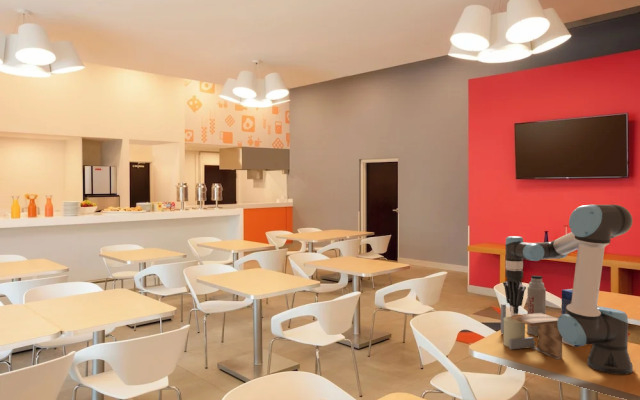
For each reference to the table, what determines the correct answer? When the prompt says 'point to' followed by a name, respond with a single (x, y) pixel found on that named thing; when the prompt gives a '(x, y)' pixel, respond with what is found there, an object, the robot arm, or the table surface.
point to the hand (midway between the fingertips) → (514, 319)
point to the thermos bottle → (536, 300)
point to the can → (513, 330)
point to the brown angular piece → (544, 333)
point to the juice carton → (565, 301)
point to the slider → (519, 341)
